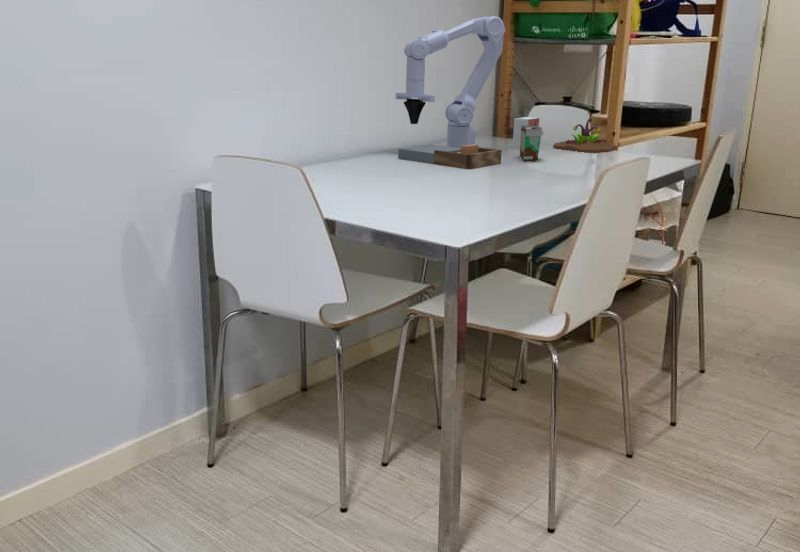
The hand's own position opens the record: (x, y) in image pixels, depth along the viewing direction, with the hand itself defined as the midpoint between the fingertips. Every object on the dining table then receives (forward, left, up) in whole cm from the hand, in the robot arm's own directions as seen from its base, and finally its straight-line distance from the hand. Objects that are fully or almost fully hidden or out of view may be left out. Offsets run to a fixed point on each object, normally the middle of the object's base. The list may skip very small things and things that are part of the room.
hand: (414, 123), depth 252 cm
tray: (+4, +25, -9) cm, 27 cm away
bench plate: (+4, +11, -9) cm, 15 cm away
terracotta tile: (+4, +24, -6) cm, 25 cm away
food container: (-18, +33, -10) cm, 39 cm away
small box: (-38, +18, -10) cm, 43 cm away
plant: (-51, +34, -10) cm, 62 cm away
